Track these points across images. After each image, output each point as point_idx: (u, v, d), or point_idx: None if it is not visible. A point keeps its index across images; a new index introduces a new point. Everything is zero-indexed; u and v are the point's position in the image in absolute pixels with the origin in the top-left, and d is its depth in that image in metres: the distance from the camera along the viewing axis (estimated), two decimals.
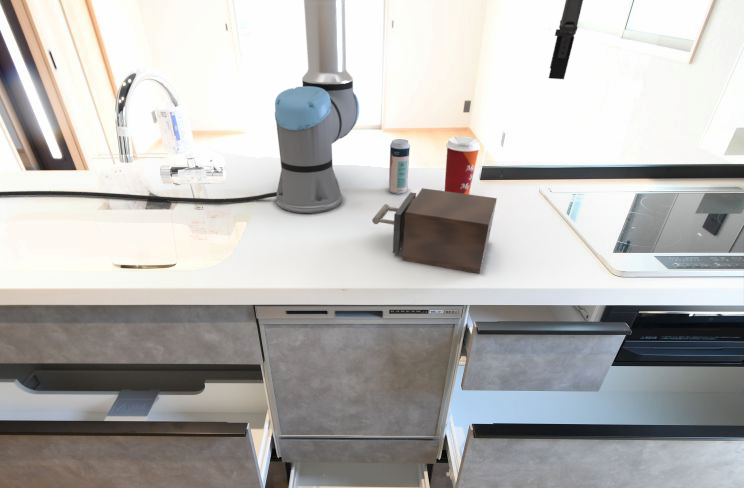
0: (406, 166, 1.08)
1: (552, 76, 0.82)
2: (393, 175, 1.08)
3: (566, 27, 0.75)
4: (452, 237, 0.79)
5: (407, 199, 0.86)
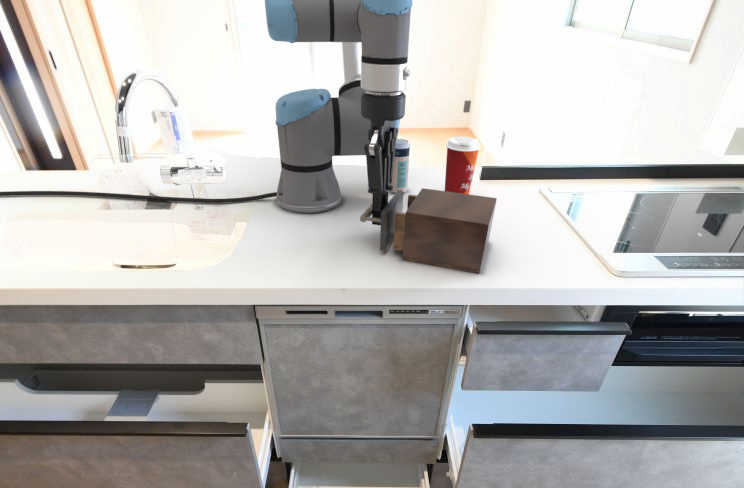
0: (406, 166, 1.08)
1: (374, 223, 0.88)
2: (393, 175, 1.08)
3: (372, 190, 0.81)
4: (452, 237, 0.79)
5: (394, 197, 0.86)
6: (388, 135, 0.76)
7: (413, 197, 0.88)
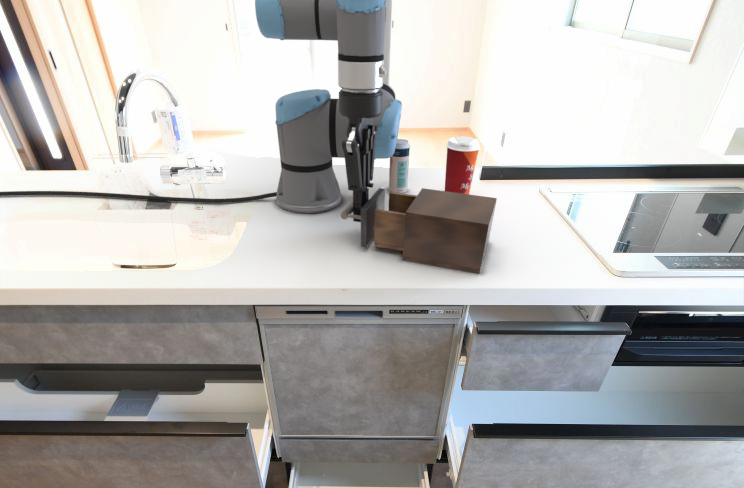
0: (406, 166, 1.08)
1: (356, 220, 0.89)
2: (393, 175, 1.08)
3: (352, 187, 0.82)
4: (452, 237, 0.79)
5: (375, 195, 0.87)
6: (366, 132, 0.77)
7: (394, 194, 0.89)
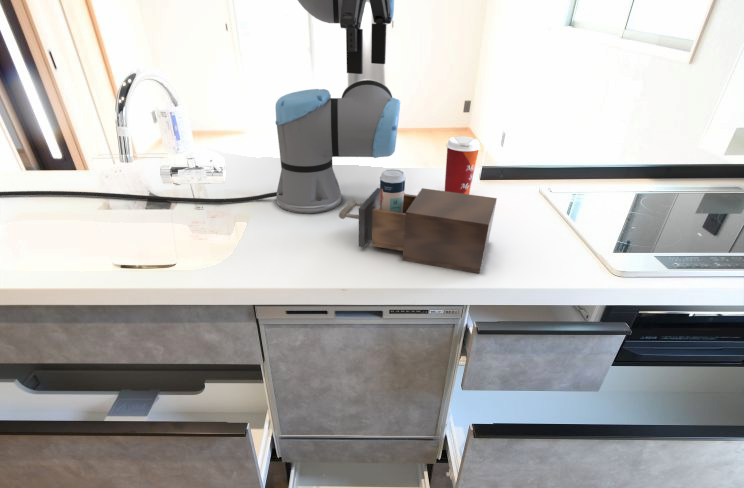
0: (401, 204, 0.84)
1: (349, 71, 0.78)
2: None
3: (344, 19, 0.71)
4: (452, 237, 0.79)
5: (373, 194, 0.87)
6: None
7: None
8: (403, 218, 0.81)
